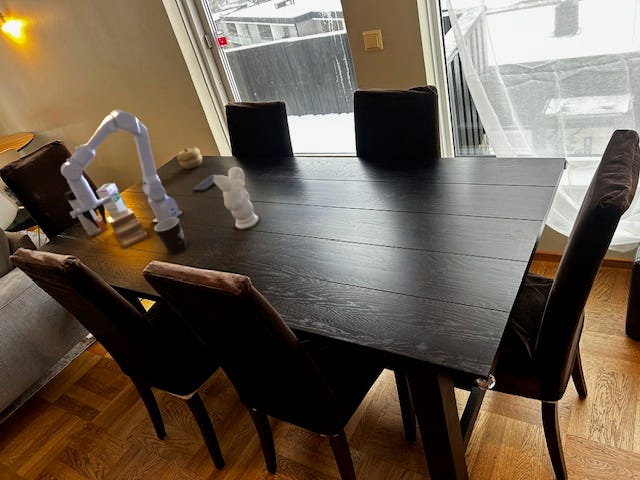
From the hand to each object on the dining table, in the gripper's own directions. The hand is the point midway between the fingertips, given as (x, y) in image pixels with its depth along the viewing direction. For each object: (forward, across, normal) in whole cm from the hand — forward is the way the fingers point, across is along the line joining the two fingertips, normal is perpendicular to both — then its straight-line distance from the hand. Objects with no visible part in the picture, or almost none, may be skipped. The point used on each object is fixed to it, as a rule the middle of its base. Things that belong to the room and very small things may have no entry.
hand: (102, 225), depth 169 cm
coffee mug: (+8, +19, -28) cm, 35 cm away
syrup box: (+8, +8, +24) cm, 27 cm away
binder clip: (+1, 0, 0) cm, 1 cm away
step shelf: (+8, +8, +1) cm, 11 cm away
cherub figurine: (+9, +43, -37) cm, 57 cm away
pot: (+9, +50, +47) cm, 70 cm away
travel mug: (+8, -3, +18) cm, 20 cm away
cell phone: (+8, +48, +16) cm, 51 cm away
